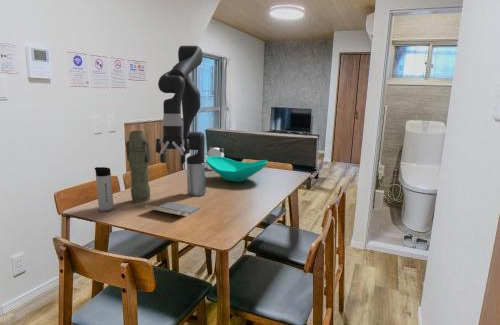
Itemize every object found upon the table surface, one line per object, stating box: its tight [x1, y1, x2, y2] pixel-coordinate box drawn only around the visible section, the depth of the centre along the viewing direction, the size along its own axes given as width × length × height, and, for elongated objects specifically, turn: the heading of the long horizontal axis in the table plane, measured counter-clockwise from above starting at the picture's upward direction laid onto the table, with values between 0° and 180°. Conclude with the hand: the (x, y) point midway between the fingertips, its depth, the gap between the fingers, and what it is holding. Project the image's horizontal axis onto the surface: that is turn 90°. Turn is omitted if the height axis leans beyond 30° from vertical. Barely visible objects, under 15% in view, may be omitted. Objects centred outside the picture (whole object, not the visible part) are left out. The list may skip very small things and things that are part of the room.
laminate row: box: [157, 201, 201, 215], centre depth 153 cm, size 8×18×2 cm, turn 64°
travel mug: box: [94, 166, 115, 213], centre depth 151 cm, size 6×7×20 cm
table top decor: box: [205, 156, 268, 183], centre depth 205 cm, size 40×28×13 cm
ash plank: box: [144, 204, 190, 217], centre depth 146 cm, size 8×18×2 cm, turn 64°
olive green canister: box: [125, 130, 151, 204], centre depth 162 cm, size 9×12×35 cm
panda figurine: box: [207, 146, 225, 171], centre depth 237 cm, size 12×11×15 cm
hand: (172, 163), depth 140 cm, fingers open, 8 cm apart
